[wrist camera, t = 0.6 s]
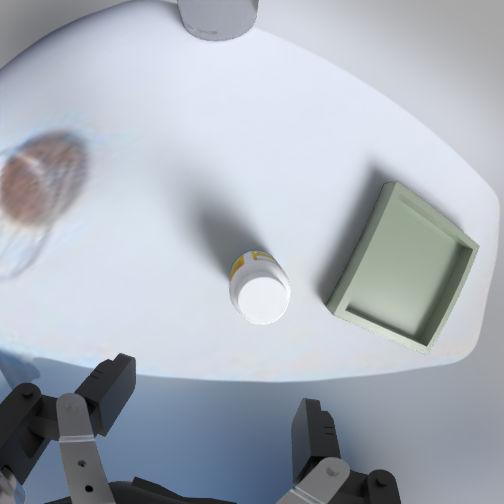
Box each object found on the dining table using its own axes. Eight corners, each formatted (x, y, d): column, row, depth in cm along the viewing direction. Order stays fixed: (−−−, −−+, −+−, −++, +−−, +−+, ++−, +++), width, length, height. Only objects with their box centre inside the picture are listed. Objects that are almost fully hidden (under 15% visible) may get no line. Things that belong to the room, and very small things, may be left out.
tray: (384, 183, 32) (396, 181, 29) (465, 243, 33) (479, 246, 30) (325, 306, 33) (333, 315, 30) (416, 346, 35) (427, 355, 32)
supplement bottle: (240, 304, 33) (242, 342, 23) (223, 259, 32) (217, 281, 22) (286, 288, 33) (305, 319, 23) (270, 242, 32) (284, 257, 22)
